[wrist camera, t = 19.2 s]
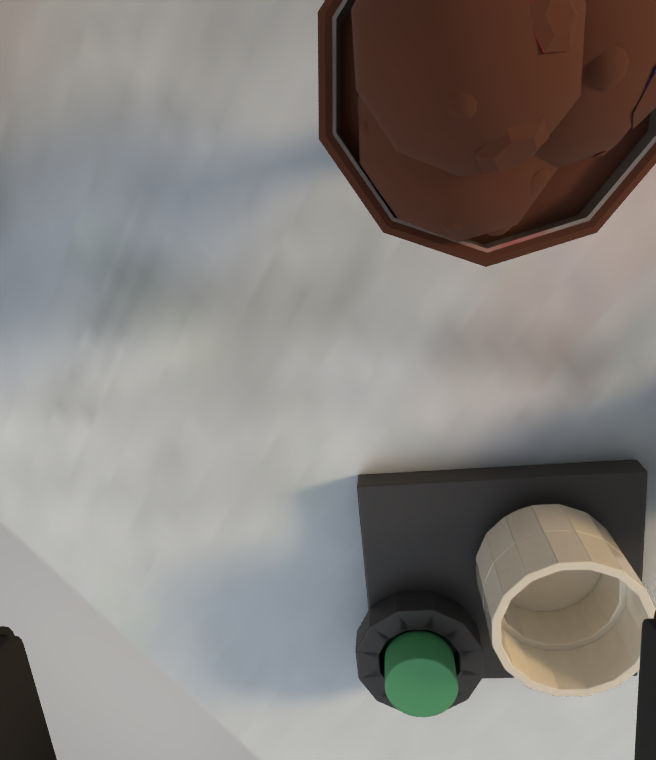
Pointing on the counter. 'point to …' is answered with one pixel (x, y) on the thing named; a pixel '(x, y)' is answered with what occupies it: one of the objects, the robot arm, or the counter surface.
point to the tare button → (420, 674)
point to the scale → (468, 550)
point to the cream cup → (561, 601)
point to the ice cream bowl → (489, 116)
